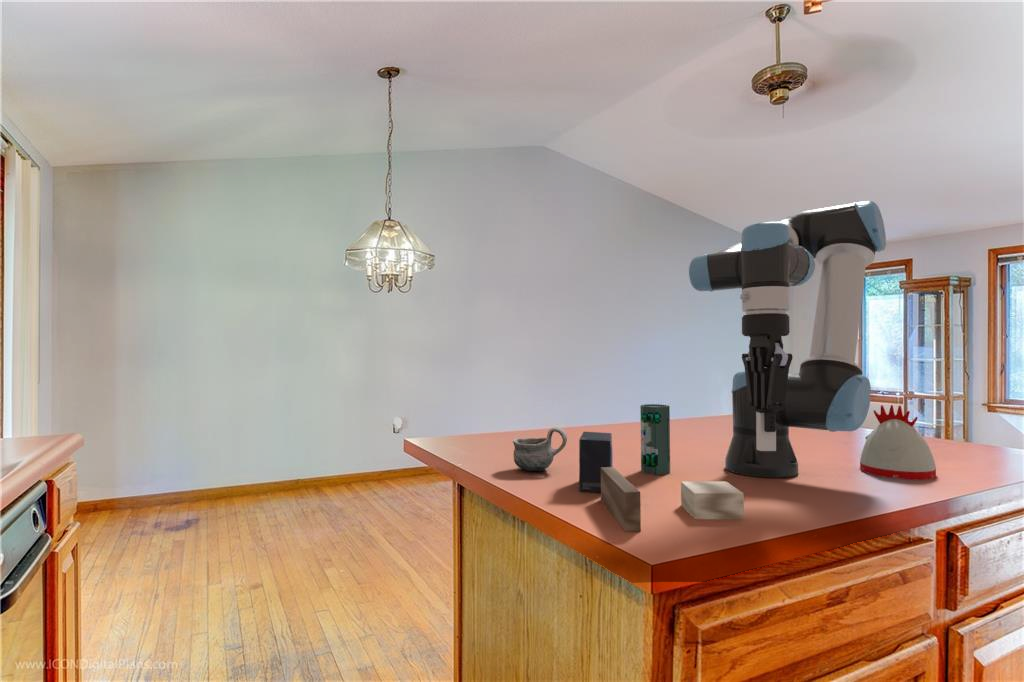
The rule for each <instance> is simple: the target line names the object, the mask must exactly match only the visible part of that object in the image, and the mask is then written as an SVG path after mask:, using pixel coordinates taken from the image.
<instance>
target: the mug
mask: <svg viewBox="0 0 1024 682" xmlns="http://www.w3.org/2000/svg"><path fill="white" fill-rule="evenodd" d="M553 433H557V434H559V435H560V436H561V439H562V441H561V442H562V443H561V445H560V446H558V448H553V447H552V437H553ZM512 442H513V446H514V449H513V462H514V464H515V465H516V466H517V467H518V468H519V469H521V470H524V471H530V472H538V471H539V472H540V471H544V470H546V469H547V468H549V467H550V465H551V464H552V462H553V461H554V457H555V456H556V455H558V454H559V453H560V452H561V451H563V449H564V448H565V446H566V445H567V442H568V437H567V433H566V431H565V430H564V429H562V428H561V427H551V428H550V429H549V430H548V432H547V435H546V437H537V438H536V437H531V438H529V437H521V438H520V437H519V438H514V439H512Z"/></svg>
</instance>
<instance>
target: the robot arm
mask: <svg viewBox="0 0 1024 682" xmlns="http://www.w3.org/2000/svg"><path fill="white" fill-rule="evenodd" d="M740 241H741V242H738V243H736V244H734V245H732V246H730V247H728V248H725V249H722V250H721V251H718V252H716V253H705V254H703V255H701V254H700V255H697V256H695V257H693V258H692V259H691V261H690V263H689V266H688V276H689V277H688V278H689V281H690V284H691V286H692V288H693V289H694V290H696V291H698V292H713V291H714V292H715V291H723V290H736V289H741V294H740V295H739V298H740V300H741V311H742V312H743V313H745V315H743V316H742V317H741V335H743V337H748V338H750V339H749V345H748V352H747V353H742V354H741V360H742V363H743V367H744V371H738V372H735V374H734V376H733V378H732V386H731V387H732V389H731V396H732V397H731V399H732V438H731V440H730V444H729V446H728V450H727V453H726V456H725V459H724V460H725V461H724V463H725V464H724V465H725V466H724V467H725V469H726V471H729V472H732V473H734V474H735V473H736V474H739V475H742V476H743V475H744V476H750V477H757V478H758V477H759V478H787V477H788V478H790V477H794V476H797V475H798V474H799V463H798V460H797V457H796V454H795V451H794V448H793V446H792V443H791V440H790V434H789V433H790V430H789V429H790V428H800V429H811V430H819V431H829V432H832V433H833V432H855V431H857V430H858V429H859V428H860V427H862V425H863V424H864V422H865V420H866V418H867V416H868V413H869V409H870V405H871V398H872V397H871V392H872V387H871V382H870V379H869V378H868V377H867V375H866V376H865V375H863V369H862V368H861V366H859V365H858V364H857V363H856V355H857V348H858V347H857V345H858V337H859V328H860V318H861V313H862V312H861V311H862V304H863V303H862V300H863V293H864V286H865V275H866V267H869V266H870V265H871V264H872V263H874V260H875V257H876V252H877V253H880V252H882V251H884V250H885V249H886V247H887V237H886V228H885V224H884V220H883V215H882V213H881V210H880V207H879V206H878V204H877V203H876V202H874V201H871V200H866V201H858V202H856V201H853V202H852V203H847V204H840V205H835V206H829V207H828V206H827V207H824V208H817V209H816V208H815V209H809V210H803V211H801V212H796V213H793V214H792V215H789V216H787V217H784V218H781V219H780V220H777V221H767V222H758V223H752V224H750V225H749V224H748V225H747V226H746V227H744V228H743V229H742V231H741V240H740ZM815 260H816V261H815ZM816 262H817V263H818V265H820V266H821V270H820V271H821V272H820V278H819V285H818V292H817V300H816V308H815V313H814V314H815V315H814V320H813V328H812V337H811V345H810V350H809V351H810V352H809V357H807V359H806V358H805V360H803V361H802V362H801V363H800V367H799V372H798V373H790V366H791V364H792V361H793V354H792V353H786V352H785V350H784V344H783V338H782V337H786V336H789V335H790V332H791V331H790V315H789V314H787V312H788V311H790V287H798V286H801V285H803V284H805V283H807V282H808V281H809V280H810V279H811V278H812V276H813V275H814V273H815V270H816Z"/></svg>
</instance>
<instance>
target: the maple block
mask: <svg viewBox="0 0 1024 682" xmlns="http://www.w3.org/2000/svg"><path fill="white" fill-rule="evenodd" d="M744 497H745V496H744V492H742V491H741V490H739V489H738V488H736V487H735V486H733V485H732V484H730V483H729V482H728V481H715V480H714V481H710V480H709V481H680V506H681V507H682V508H683V509H684V510H685V511H686V512H687V513H688V514H689V515H690V516H691V517H692V518H693V519H694V520H744V519H745V513H744V512H745V508H744V506H745V503H744Z"/></svg>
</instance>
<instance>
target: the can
mask: <svg viewBox="0 0 1024 682" xmlns="http://www.w3.org/2000/svg"><path fill="white" fill-rule="evenodd" d="M639 408H640V469H641V472H642V473H643V472H644V473H643V474H647V475H652V474H655V475H656V476H657V475H658V476H659V475H660V474H665V475H669V474H670V473H671V422H670V420H671V419H670V416H671V415H670V413H671V412H670V405H669V404H668V405H667V404H659V403H658V404H657V403H656V404H655V403H653V404H651V403H649V404H648V403H647V404H640V407H639ZM668 473H669V474H668ZM660 476H661V475H660Z"/></svg>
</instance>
